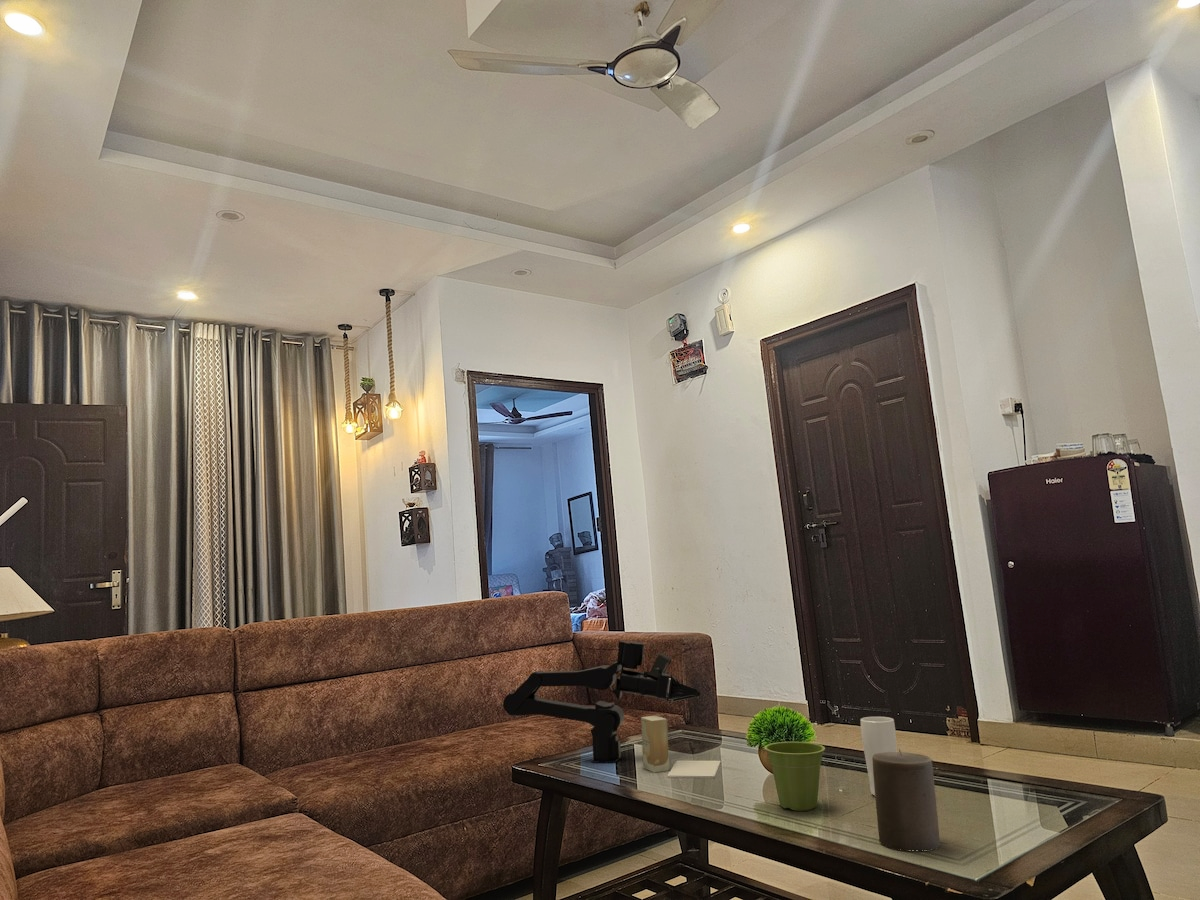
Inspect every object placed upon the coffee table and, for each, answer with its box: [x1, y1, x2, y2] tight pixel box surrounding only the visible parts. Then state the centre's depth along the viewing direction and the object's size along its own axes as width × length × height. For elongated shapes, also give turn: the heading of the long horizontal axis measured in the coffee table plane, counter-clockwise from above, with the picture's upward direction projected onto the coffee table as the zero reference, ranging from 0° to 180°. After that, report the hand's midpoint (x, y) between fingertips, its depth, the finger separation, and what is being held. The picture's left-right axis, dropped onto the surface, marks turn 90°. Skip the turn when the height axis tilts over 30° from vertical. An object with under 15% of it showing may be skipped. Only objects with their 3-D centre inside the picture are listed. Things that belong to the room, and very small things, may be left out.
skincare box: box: [640, 715, 670, 773], centre depth 196 cm, size 6×4×12 cm
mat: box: [666, 760, 722, 779], centre depth 192 cm, size 11×16×1 cm
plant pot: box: [764, 741, 826, 812], centre depth 158 cm, size 12×12×11 cm
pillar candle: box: [872, 748, 941, 851], centre depth 134 cm, size 10×10×15 cm
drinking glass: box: [859, 716, 898, 796], centre depth 163 cm, size 7×7×15 cm
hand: (698, 693), depth 205 cm, fingers open, 9 cm apart
